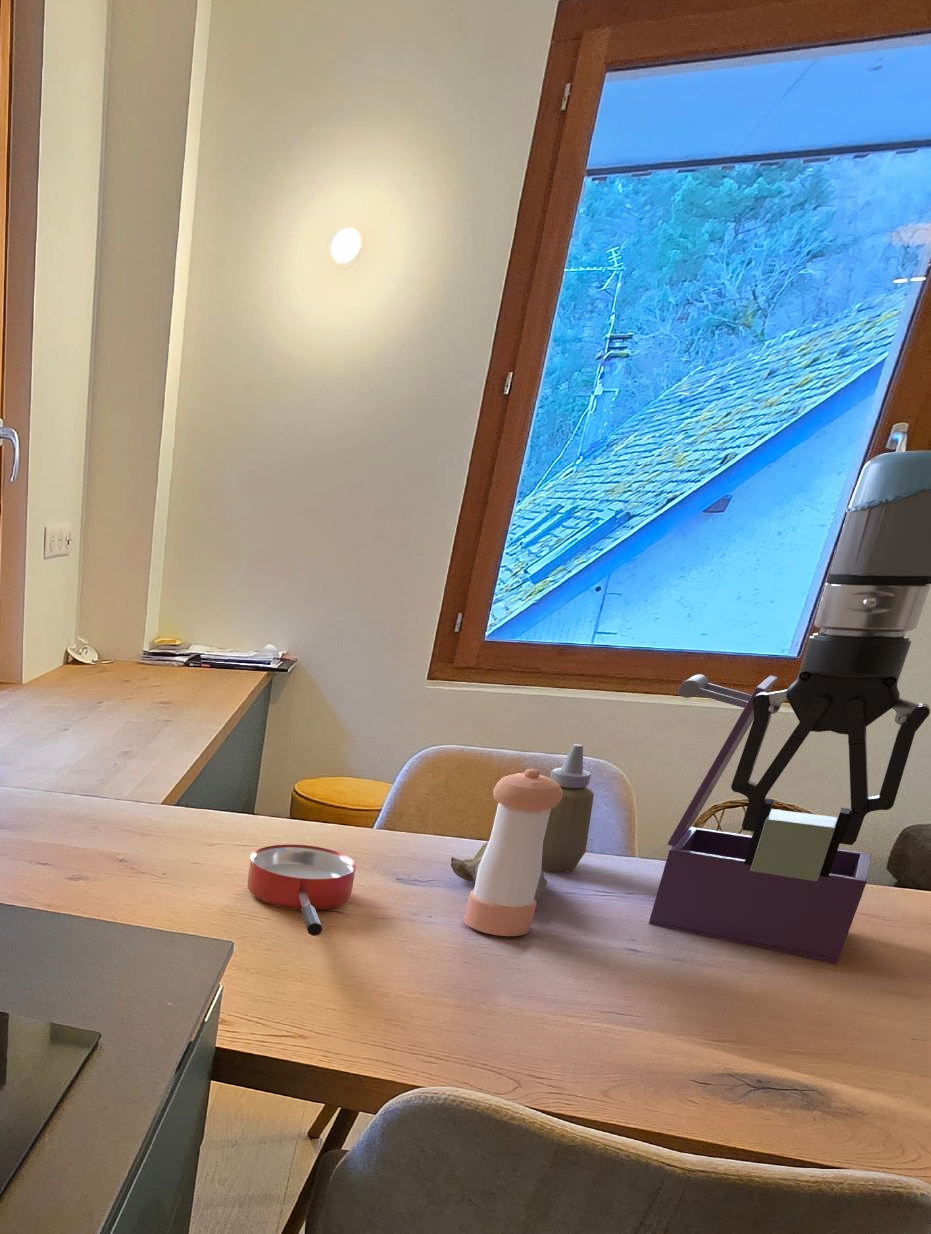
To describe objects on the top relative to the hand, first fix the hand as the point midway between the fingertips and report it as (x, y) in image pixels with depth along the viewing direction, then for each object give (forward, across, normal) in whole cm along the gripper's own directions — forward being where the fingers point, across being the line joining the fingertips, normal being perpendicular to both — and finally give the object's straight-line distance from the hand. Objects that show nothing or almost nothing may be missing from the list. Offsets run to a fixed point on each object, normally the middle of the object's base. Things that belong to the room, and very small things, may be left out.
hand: (786, 867), depth 108 cm
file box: (+12, -2, +17) cm, 21 cm away
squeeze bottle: (+12, -26, +27) cm, 40 cm away
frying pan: (+12, -43, -14) cm, 47 cm away
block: (0, 0, 0) cm, 0 cm away
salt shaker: (+12, -25, -1) cm, 28 cm away
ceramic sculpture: (+12, -28, +11) cm, 33 cm away
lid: (-7, -9, +17) cm, 20 cm away
